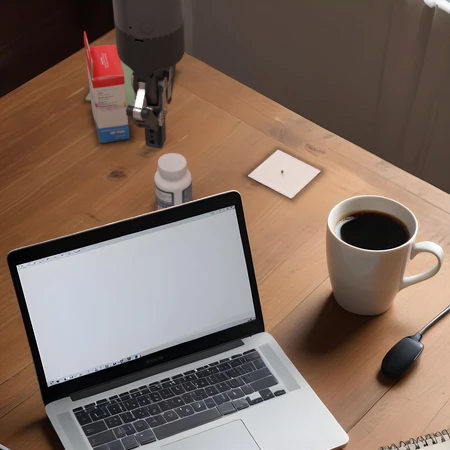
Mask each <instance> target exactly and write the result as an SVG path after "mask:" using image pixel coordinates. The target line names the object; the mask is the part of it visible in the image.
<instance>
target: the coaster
mask: <svg viewBox="0 0 450 450" xmlns="http://www.w3.org/2000/svg"><path fill="white" fill-rule="evenodd" d="M321 172H322V170H320V169H318V168H317V167H314V166H312V165H310V164H308V163H306V162H304V161H302V160H300V159H299V158H296V157H294V156H292V155H290V154H288V153H286V152H284V151H281V150H280V149H277V150H276V151H275V152H273V153H272V154H271V155H270V156H269V157H268V158H266V159H265V160H264V161H263V162H262V163H261V164H260V165H258V166H257V167H256V168H255V169H254V170H253V171H251V172H250V173H249V174H248V175H247V176H248V177H249V178H251V179H252V180H255V181H257V182H259V183H260V184H262V185H264V186H266V187H268V188H270V189H272V190H273V191H276V192H277V193H279V194H281V195H283V196H285V197H287V198H289V199H293V198H294V197H295V196H296V195H297V194H298V193H299V192H300V191H302V189H303V188H305V187H306V186H307V185H309V183H311V181H313V179H314V178H315V177H316V176H318V174H319V173H321Z"/></svg>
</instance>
